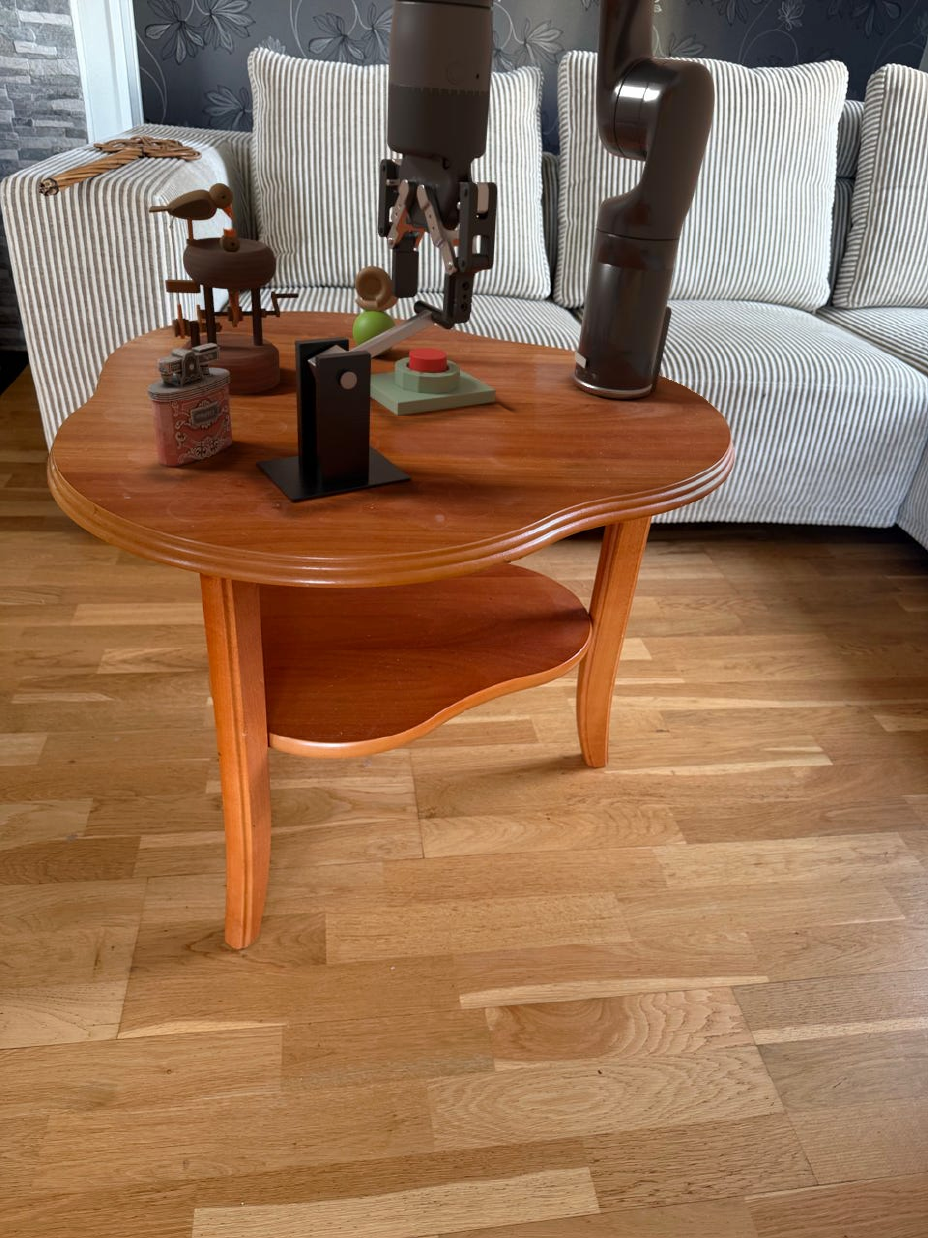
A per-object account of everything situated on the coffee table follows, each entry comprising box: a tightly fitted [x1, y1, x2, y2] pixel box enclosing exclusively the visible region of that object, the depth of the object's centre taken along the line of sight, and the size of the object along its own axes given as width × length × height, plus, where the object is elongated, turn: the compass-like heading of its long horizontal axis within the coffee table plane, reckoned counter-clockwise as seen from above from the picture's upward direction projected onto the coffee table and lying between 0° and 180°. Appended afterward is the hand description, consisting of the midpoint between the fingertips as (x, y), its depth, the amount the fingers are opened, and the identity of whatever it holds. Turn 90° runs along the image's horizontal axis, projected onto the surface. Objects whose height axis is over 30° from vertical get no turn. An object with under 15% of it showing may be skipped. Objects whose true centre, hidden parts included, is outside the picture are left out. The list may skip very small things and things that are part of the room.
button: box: [408, 347, 448, 373], centre depth 92 cm, size 4×4×2 cm
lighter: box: [146, 343, 234, 469], centre depth 75 cm, size 8×3×10 cm, turn 148°
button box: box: [370, 356, 497, 416], centre depth 94 cm, size 12×9×4 cm
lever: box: [308, 299, 456, 380], centre depth 72 cm, size 12×5×2 cm, turn 122°
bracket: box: [255, 336, 412, 504], centre depth 73 cm, size 11×8×12 cm
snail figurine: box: [352, 265, 400, 357], centre depth 105 cm, size 5×6×12 cm
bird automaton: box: [148, 182, 300, 395], centre depth 92 cm, size 15×11×20 cm
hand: (428, 309), depth 72 cm, fingers open, 8 cm apart
